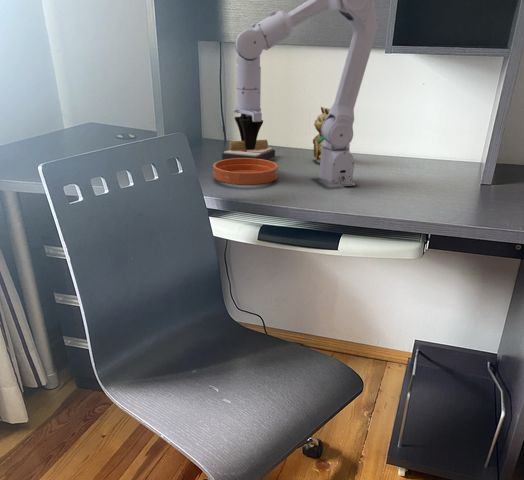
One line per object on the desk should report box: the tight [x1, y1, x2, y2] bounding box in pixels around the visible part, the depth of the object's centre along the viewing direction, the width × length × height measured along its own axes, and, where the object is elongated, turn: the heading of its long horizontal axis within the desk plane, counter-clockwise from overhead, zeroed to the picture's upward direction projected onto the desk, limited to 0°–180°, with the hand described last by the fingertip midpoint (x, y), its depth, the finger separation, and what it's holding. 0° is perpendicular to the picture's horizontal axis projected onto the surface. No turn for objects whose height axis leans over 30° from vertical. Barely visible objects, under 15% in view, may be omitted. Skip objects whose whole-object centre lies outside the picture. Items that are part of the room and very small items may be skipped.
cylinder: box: [228, 139, 269, 151], centre depth 135 cm, size 10×2×2 cm, turn 108°
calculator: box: [221, 146, 276, 161], centre depth 158 cm, size 11×4×15 cm
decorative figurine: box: [312, 106, 331, 164], centre depth 158 cm, size 10×8×15 cm
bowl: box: [212, 158, 279, 186], centre depth 141 cm, size 17×17×4 cm
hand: (248, 148), depth 135 cm, fingers closed on cylinder, 2 cm apart
